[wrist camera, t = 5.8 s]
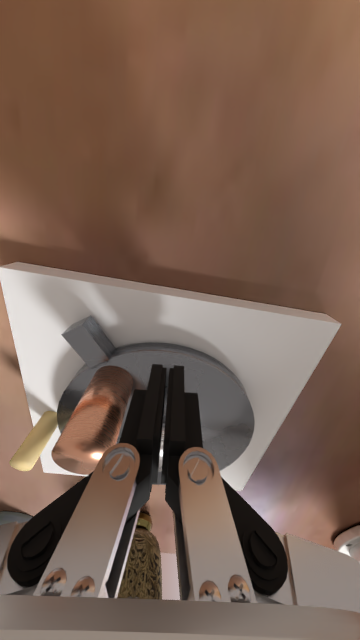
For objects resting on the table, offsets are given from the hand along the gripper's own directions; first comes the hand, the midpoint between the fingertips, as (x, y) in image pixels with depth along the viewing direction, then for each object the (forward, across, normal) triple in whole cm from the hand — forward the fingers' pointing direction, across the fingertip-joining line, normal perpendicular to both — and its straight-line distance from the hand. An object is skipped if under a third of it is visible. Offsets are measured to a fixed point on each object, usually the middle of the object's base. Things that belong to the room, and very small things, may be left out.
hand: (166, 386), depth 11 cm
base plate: (+4, +1, +6) cm, 7 cm away
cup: (+5, +3, +28) cm, 28 cm away
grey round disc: (+3, +1, +5) cm, 6 cm away
